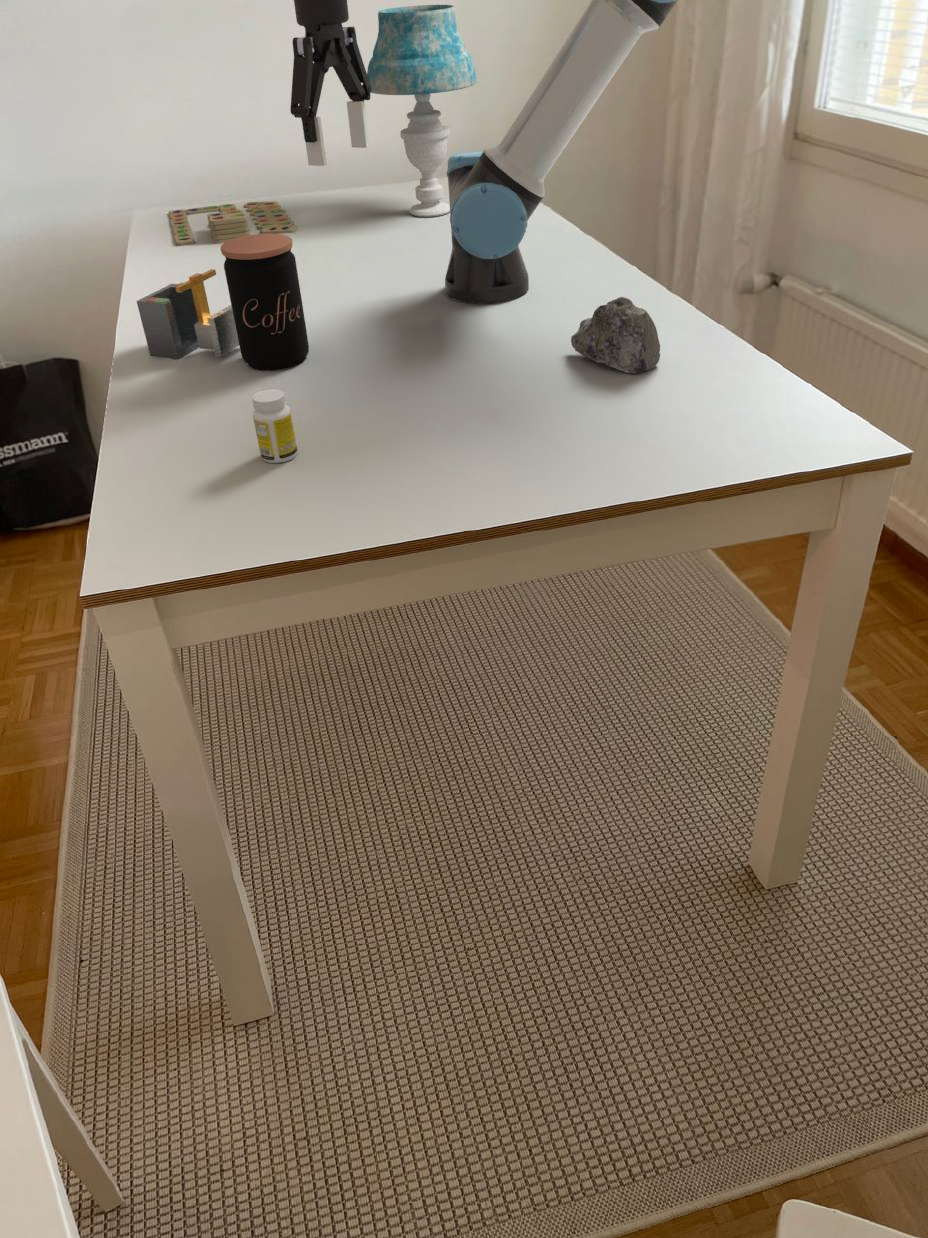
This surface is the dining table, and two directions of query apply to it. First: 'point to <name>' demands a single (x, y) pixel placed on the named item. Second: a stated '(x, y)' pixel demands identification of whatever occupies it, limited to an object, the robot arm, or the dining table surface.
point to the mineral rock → (619, 337)
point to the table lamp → (421, 85)
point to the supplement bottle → (274, 426)
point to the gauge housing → (169, 322)
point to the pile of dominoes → (232, 221)
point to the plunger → (211, 318)
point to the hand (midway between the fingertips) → (339, 155)
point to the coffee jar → (266, 301)
